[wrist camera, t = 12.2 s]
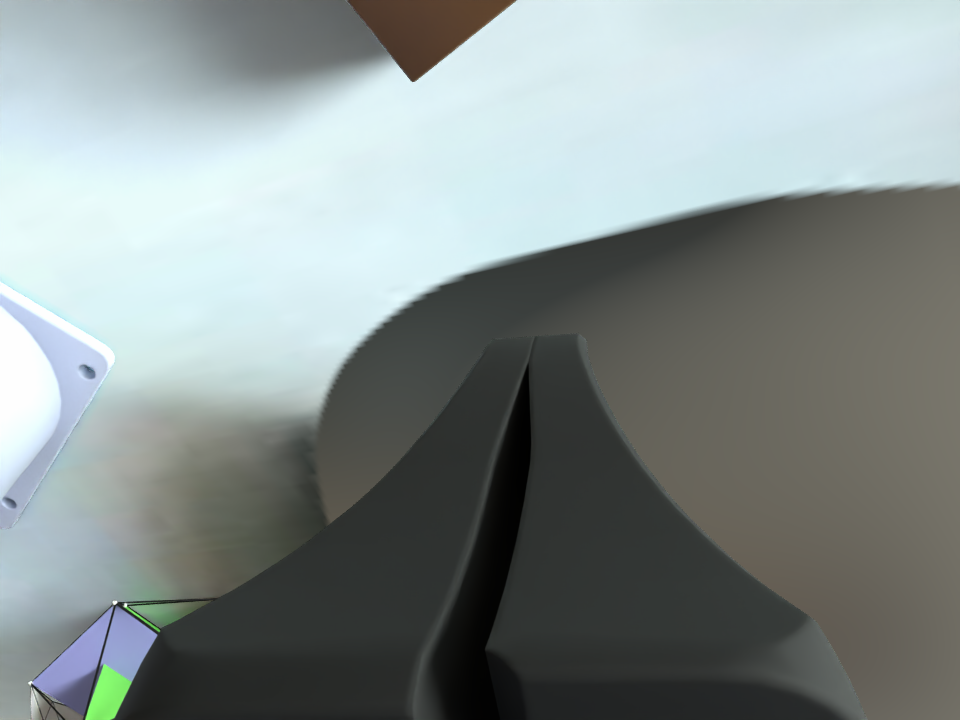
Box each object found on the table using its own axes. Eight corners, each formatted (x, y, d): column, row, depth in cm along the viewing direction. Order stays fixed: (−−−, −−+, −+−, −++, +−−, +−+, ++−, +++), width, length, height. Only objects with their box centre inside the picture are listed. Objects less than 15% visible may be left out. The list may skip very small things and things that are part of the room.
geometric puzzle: (177, 552, 28) (-15, 793, 25) (335, 668, 30) (179, 901, 27) (132, 531, 34) (-26, 722, 31) (267, 630, 36) (133, 816, 33)
